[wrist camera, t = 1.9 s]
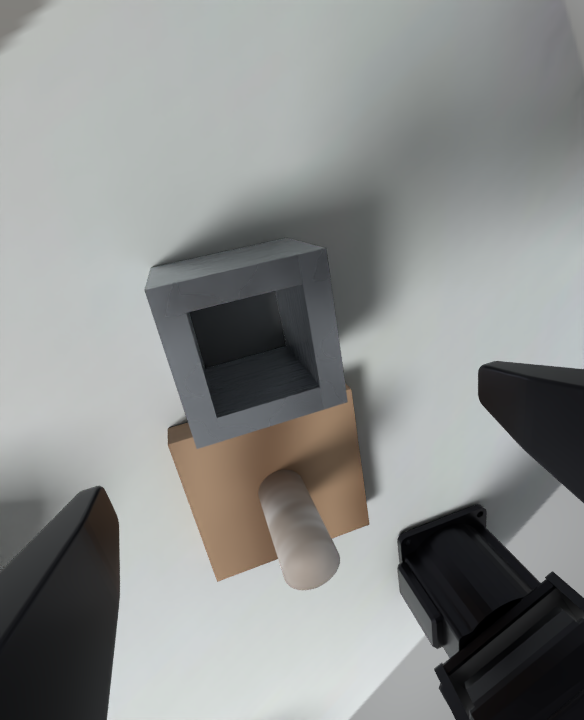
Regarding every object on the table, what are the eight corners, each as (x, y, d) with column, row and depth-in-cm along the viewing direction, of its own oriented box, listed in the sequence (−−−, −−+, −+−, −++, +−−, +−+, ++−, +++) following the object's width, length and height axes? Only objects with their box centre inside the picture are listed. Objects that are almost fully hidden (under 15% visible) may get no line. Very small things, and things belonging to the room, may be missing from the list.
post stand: (339, 377, 21) (404, 442, 15) (358, 507, 25) (416, 599, 19) (167, 428, 20) (167, 522, 14) (214, 559, 23) (230, 679, 17)
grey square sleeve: (286, 237, 18) (326, 247, 14) (308, 359, 20) (347, 402, 16) (150, 267, 17) (144, 289, 12) (190, 392, 19) (197, 448, 15)
